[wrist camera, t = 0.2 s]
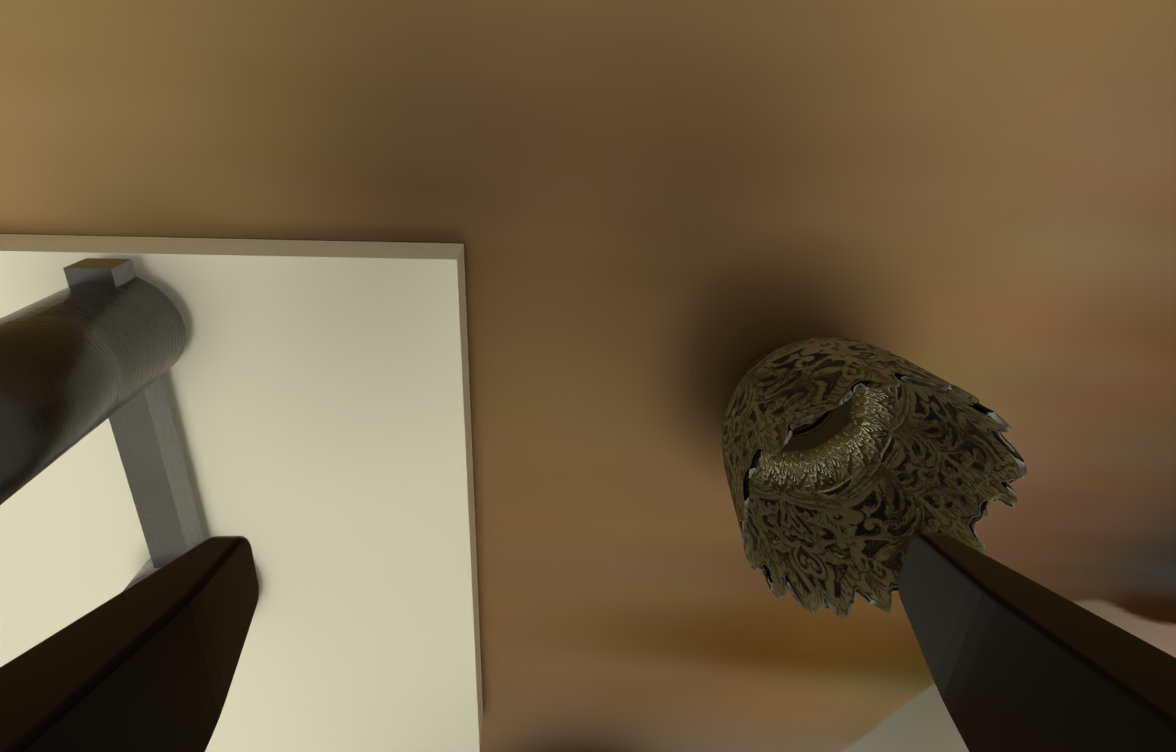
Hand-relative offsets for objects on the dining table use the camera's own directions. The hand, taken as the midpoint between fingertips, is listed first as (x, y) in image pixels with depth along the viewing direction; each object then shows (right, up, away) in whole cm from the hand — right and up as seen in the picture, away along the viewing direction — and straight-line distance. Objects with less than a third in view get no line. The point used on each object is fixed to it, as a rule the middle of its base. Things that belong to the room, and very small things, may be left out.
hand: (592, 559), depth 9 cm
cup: (+7, +2, +16) cm, 17 cm away
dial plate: (-17, -3, +16) cm, 24 cm away
